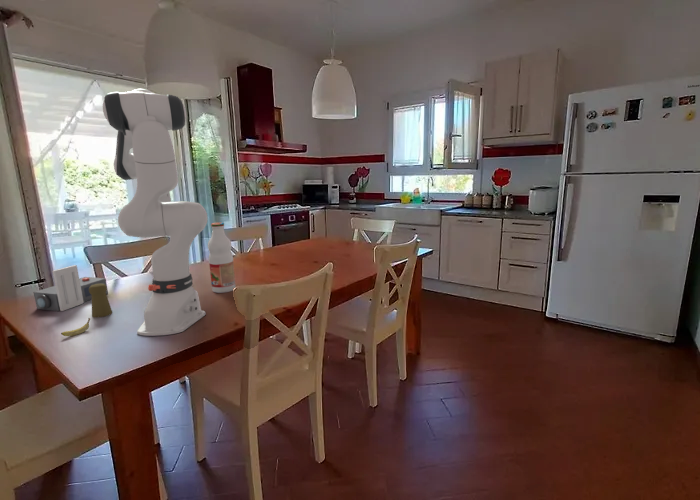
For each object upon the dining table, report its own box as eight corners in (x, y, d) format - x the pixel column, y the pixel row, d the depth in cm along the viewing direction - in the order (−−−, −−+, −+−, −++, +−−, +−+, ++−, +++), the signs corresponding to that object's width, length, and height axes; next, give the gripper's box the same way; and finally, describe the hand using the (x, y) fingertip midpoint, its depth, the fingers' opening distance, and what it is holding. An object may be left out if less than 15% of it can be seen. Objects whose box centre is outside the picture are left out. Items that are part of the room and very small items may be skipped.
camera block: (54, 313, 132) (50, 293, 130) (31, 310, 135) (27, 291, 134) (108, 293, 152) (105, 276, 151) (87, 291, 156) (84, 275, 154)
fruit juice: (234, 292, 150) (227, 224, 144) (210, 294, 149) (202, 225, 143) (237, 285, 159) (231, 221, 153) (214, 287, 158) (207, 222, 152)
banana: (90, 328, 118) (88, 317, 117) (93, 329, 117) (91, 318, 117) (61, 338, 111) (58, 326, 111) (64, 340, 111) (61, 327, 110)
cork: (100, 318, 126) (94, 287, 124) (87, 316, 128) (82, 286, 126) (116, 312, 132) (111, 282, 129) (104, 310, 134) (99, 281, 131)
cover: (63, 311, 133) (55, 271, 130) (60, 310, 134) (52, 270, 130) (84, 303, 141) (77, 265, 138) (81, 303, 141) (74, 265, 138)
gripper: (158, 185, 165) (162, 215, 168) (135, 187, 145) (140, 222, 148) (172, 184, 166) (176, 215, 169) (151, 186, 146) (156, 221, 149)
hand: (159, 218), depth 158 cm, fingers closed
